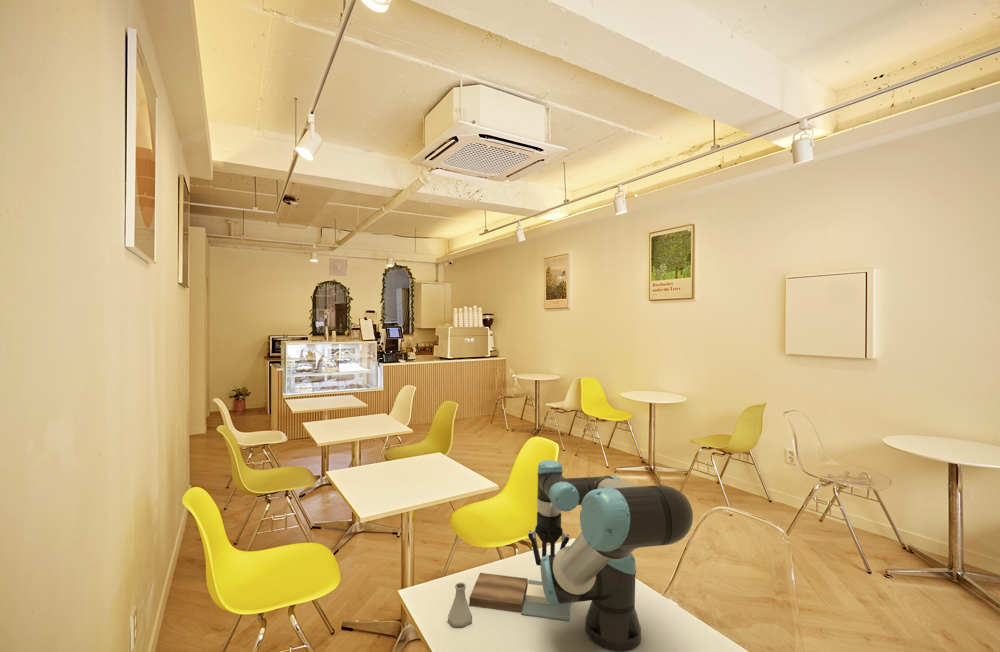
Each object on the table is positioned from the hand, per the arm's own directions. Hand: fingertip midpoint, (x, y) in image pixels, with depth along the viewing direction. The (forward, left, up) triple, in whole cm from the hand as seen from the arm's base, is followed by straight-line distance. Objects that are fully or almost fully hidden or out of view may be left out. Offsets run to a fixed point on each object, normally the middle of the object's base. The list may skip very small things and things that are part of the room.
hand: (547, 587), depth 140 cm
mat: (0, 0, -4) cm, 4 cm away
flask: (-15, +24, -4) cm, 29 cm away
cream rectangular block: (0, +2, -3) cm, 4 cm away
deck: (-1, +15, -4) cm, 15 cm away
